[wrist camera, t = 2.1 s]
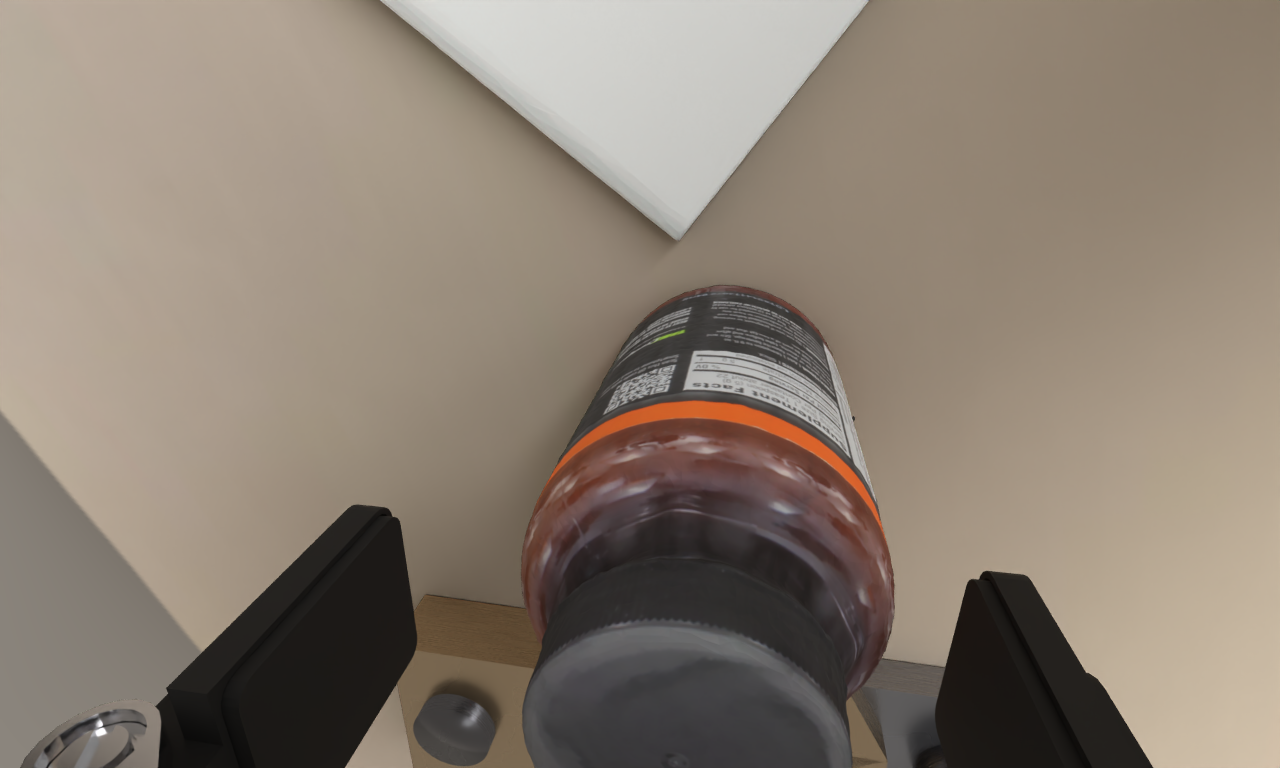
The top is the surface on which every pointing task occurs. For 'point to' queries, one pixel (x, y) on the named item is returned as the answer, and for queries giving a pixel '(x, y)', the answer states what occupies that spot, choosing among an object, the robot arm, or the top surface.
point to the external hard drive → (642, 80)
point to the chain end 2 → (907, 712)
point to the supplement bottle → (707, 552)
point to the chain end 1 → (508, 689)
